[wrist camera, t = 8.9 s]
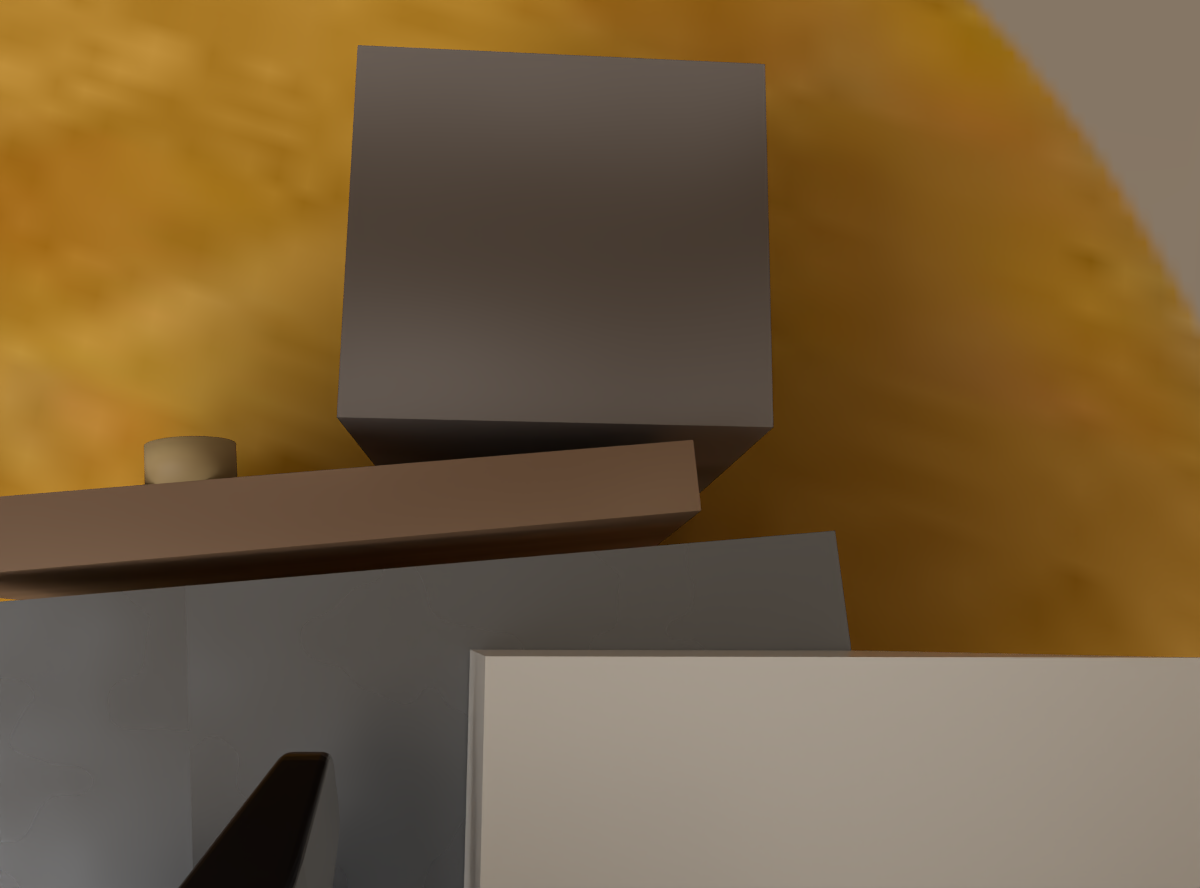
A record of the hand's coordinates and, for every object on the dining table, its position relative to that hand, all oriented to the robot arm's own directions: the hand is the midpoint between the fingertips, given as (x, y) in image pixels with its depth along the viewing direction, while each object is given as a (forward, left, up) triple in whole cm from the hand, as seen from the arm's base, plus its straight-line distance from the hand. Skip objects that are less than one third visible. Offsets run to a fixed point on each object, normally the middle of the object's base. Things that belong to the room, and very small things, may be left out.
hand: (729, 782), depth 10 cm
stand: (+8, +1, -13) cm, 15 cm away
